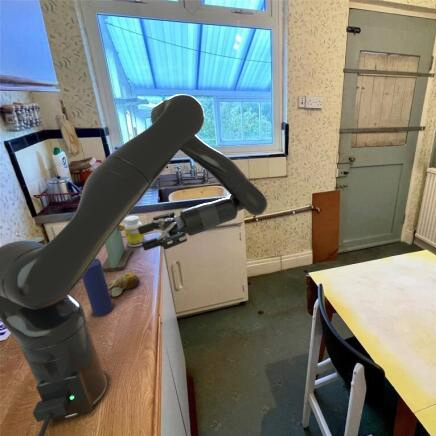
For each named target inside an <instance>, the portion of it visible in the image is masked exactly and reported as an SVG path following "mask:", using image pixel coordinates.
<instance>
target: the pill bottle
mask: <svg viewBox="0 0 436 436" xmlns="http://www.w3.org/2000/svg"><path fill="white" fill-rule="evenodd" d="M124 223H125V224H123V225H124V226H125V229H124V233H125V237H126V242H127V245H128V247H133V248H134V247H135V248H136V247H140V246H142V243H143V242H145V241H146V238H145V233H144V234H140V233H139V231H138V227H139V226H143V223H142V221H140V218H139V216H138V215H129V216H126V217H125V218H124Z"/></svg>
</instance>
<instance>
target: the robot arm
mask: <svg viewBox="0 0 436 436" xmlns="http://www.w3.org/2000/svg"><path fill="white" fill-rule="evenodd" d="M150 122H151V125H150V126H148V128H146V129H145V130H143V131H142V132H140V133H139V134H137V135H136V136H134V137H132V138H131V139H129V140H128V141H126V142H125V143H123V144H122V145H121V146H119V147H118V148H117V149H116V150H114V151H113V152H112V153H110V154H109V155H108V156H107V157H106V158H104V160H103V161H101V163H100V164H99V165H98V166H97V167H95V168H94V169H93V171H92V172H91V173H90V174H89V176H88V177H87V178H86V180H85V183H84V185H83V188H82V192H81V195H80V199H79V203H78V206H77V209H76V211H75V213H74V215H73V216H72V218H71V219H70V220H69V221H68V222H67V224H65V226H64V227H63V228H62V229H61V230H60V231H59V232H58V233H57V234H56V235H55V237H53V238H52V239H51V240H50V241H49V242H47V244H45V245H44V244H41V243H37V242H33V241H26V240H17V241H12V242H8V243H6V244H3V245H1V246H0V321H1V323H2V324H3V326H4V327H5V329H7V331H8V332H10V334H12V336H13V337H14V338H15V339H16V341H17V344H18V345H19V348H20V349H21V351H22V354H23V356H24V359H25V360H26V361H25V362H26V363H27V365H28V367H29V369H30V371H31V375H32V376H33V378H34V380H35V382H36V386H35V389H36V391H37V393H38V395H39V397H40V399H41V400H39V401H37V402H36V404H35V407H34V409H33V411H32V415H33V417H34V419H35V421H36V422H37V423H38V422H42V421H43V422H42V426H41V427H40V431H39V433H38V436H45V434H46V431H47V429H48V427H49V423H50V421H51V422H52V423H57V422H60V421H64V420H68V419H72V418H75V417H78V416H81V415H85V414H89V413H92V411H93V409H94V406H95V405H96V404H97V403H98V402H99V401H100V400H101V399H102V398H103V396H104V395H105V393H106V391H107V387H108V380H107V377H106V375H105V373H104V369H103V367H102V364H101V363H102V362H101V360H100V357H99V354H98V351H97V348H96V345H95V342H94V338H93V335H92V333H91V329H90V326H89V323H88V320H87V317H86V314H85V311H84V308H83V306H82V305H81V303H80V302H79V301H78V300H77V299H76V298H75V297H74V296H73V295H71V293H72V292H73V291H75V288H76V287H77V286H78V284H79V283H80V282H81V280H83V276H84V275H85V273H86V272H87V270H88V269H89V267H90V266H91V264H92V263H93V261H94V259H97V257H98V255H99V253H100V252H101V251H102V249H103V247H104V246H105V243H106V241H107V240H108V239H109V237H110V236H111V235H112V233H113V232H114V231H115V230H116V228H117V227H118V226H119V225H121V223H122V222H123V221H124V220H125V218H126V217H128V216H127V215H128V214H129V213H131V211H132V209H134V207H135V206H136V205H137V204H138V203H139V202H140V201H141V200H142V199H143V197H144V196H145V194H146V193H147V192H148V191H149V190H150V188H152V186H153V185H154V183H155V181H156V180H157V179H158V178H159V177H160V176H161V174H162V173H163V171H164V170H166V168H167V166H168V165H169V164H170V163H171V161H172V160H173V158H174V157H175V156H176V154H177V153H178V152H179V151H180V152H182V153H183V154H185V156H187V157H189V158H190V159H191V160H193V161H194V162H195V163H196V164H198V165H199V166H200V167H201V168H202V169H204V170H205V171H206V172H207V173H208V174H210V175H211V176H212V178H214V179H215V180H216V182H217V183H219V185H221V186H222V187H223V189H224V190H225V191H226V192H228V193H229V195H228V196H225V197H223V198H220V199H217V200H214V201H211V202H205V203H201V204H198V205H195V206H192V207H189V208H186V209H182V210H180V211H179V215H178V216H176V213H175V211H170V212H167V213H164V214H160V215H157V216H154V217H152V220H151V222H149V223H146V224H142V226H139V227H138V231H139V233H140V234H144V235H145V234H147V233H151V232H153V231H156V230H158V231H159V230H160V231H162V233H161V234H160V235H159V236H158V237H154V238H151V239H148V240H145V242H143V243H142V245H141V247H142V248H143V250H144V251H148V250H153V249H155V248H158V247H161V248H163V249H164V250H168V249H170V248H173V247H176V246H178V245H181V244H183V243H186V242H187V241H188V237H187V235H188V236H189V237H192V236H195V235H197V234H200V233H202V232H205V231H209V230H211V229H214V228H215V227H217V226H220V225H222V224H226V223H228V222H231V221H233V220H236V218H238V212H240V211H242V210H245V211H246V212H247V213H249V214H250V215H252V216H260V215H262V214H264V213H265V212H266V211H267V208H268V199H267V198H266V195H264V193H262V191H260V189H259V188H257V187H256V185H254V184H253V183H252V182H251V181H250V180H249V178H248V177H247V176H246V175H245V173H244V172H243V171H242V170H241V168H240V167H239V166H238V165H237V164H236V163H235V162H234V161H233V160H232V159H231V158H230V157H228V156H227V155H225V154H223V153H221V152H220V151H218V150H216V149H215V148H213V147H211V146H209V145H208V144H206V143H205V142H204V141H203V140H201V138H199V137H198V136H197V134H198V133H199V132H200V131H201V130H202V128H203V126H204V123H205V110H204V107H203V105H202V103H201V102H200V101H199V100H198V99H197V98H195V97H194V96H192V95H189V94H174V95H172V96H171V97H168V98H167V99H164V100H162V101H161V102H159V103H157V104H156V105H154V106H153V107H152V109H151V111H150Z"/></svg>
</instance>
